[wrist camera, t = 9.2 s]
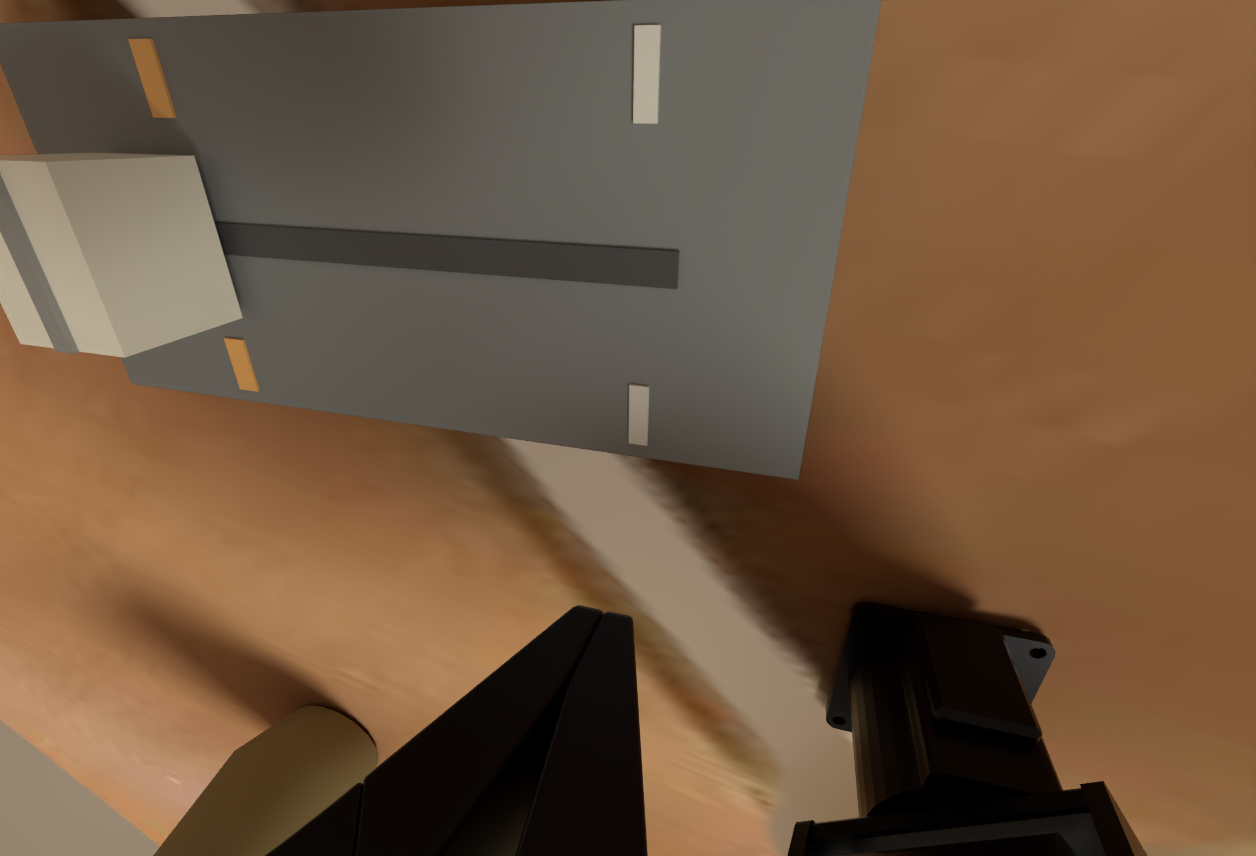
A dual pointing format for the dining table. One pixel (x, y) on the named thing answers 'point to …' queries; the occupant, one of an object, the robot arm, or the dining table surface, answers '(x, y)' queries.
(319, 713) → the squeeze bottle
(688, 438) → the plate
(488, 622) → the dining table surface
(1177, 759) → the dining table surface
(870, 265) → the dining table surface
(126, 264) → the cap
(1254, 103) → the dining table surface
